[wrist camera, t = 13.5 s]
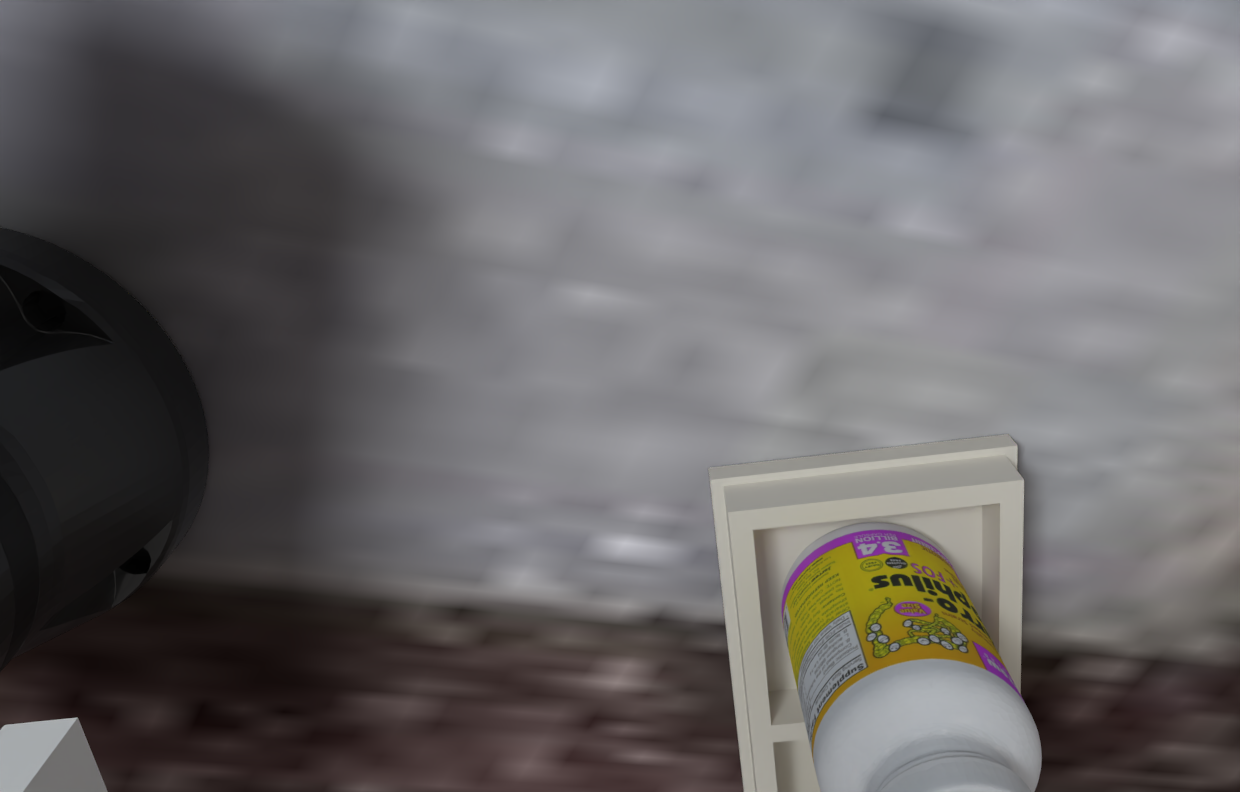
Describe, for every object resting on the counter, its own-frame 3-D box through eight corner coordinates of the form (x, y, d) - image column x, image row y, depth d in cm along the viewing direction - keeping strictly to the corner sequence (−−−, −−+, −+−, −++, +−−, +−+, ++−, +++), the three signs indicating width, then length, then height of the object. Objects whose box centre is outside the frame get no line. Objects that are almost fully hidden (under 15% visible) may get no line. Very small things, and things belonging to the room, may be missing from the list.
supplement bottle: (989, 567, 39) (1146, 829, 27) (881, 689, 41) (982, 981, 29) (846, 482, 38) (944, 717, 26) (741, 613, 40) (788, 885, 28)
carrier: (1003, 848, 46) (1028, 905, 43) (752, 871, 46) (760, 928, 44) (1008, 434, 38) (1037, 470, 35) (708, 467, 39) (714, 506, 36)
